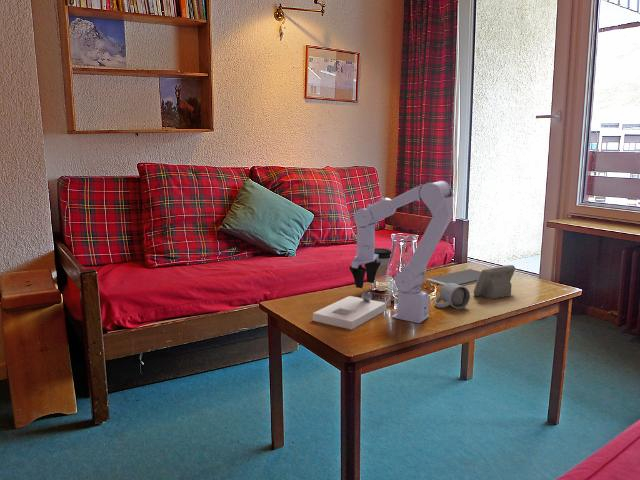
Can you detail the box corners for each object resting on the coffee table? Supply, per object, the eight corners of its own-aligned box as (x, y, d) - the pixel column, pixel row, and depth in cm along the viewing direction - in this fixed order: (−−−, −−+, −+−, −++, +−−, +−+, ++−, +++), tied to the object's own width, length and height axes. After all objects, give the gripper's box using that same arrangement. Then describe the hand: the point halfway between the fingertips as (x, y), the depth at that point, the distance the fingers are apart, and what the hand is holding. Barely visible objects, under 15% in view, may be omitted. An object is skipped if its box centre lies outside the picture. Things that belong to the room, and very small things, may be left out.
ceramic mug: (456, 300, 188) (457, 279, 187) (470, 307, 181) (471, 285, 179) (429, 304, 185) (430, 282, 184) (442, 311, 177) (443, 288, 176)
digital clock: (505, 289, 202) (507, 262, 200) (520, 296, 194) (523, 267, 192) (467, 293, 197) (469, 265, 195) (482, 300, 189) (483, 271, 187)
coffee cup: (391, 294, 196) (392, 253, 193) (365, 292, 198) (366, 252, 195) (392, 287, 205) (394, 248, 202) (368, 285, 207) (368, 247, 204)
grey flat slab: (425, 282, 214) (425, 278, 214) (470, 272, 229) (470, 268, 229) (450, 290, 204) (450, 286, 203) (496, 279, 219) (496, 275, 218)
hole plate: (385, 310, 178) (386, 302, 177) (351, 329, 160) (352, 321, 159) (349, 302, 185) (349, 295, 185) (313, 320, 168) (313, 312, 167)
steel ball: (374, 301, 178) (372, 293, 181) (371, 294, 176) (368, 287, 179) (364, 305, 179) (362, 297, 181) (361, 298, 177) (359, 291, 179)
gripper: (365, 239, 184) (365, 278, 187) (343, 247, 172) (343, 288, 175) (384, 242, 180) (383, 281, 183) (362, 249, 168) (362, 291, 171)
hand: (365, 285), depth 178 cm, fingers open, 7 cm apart
